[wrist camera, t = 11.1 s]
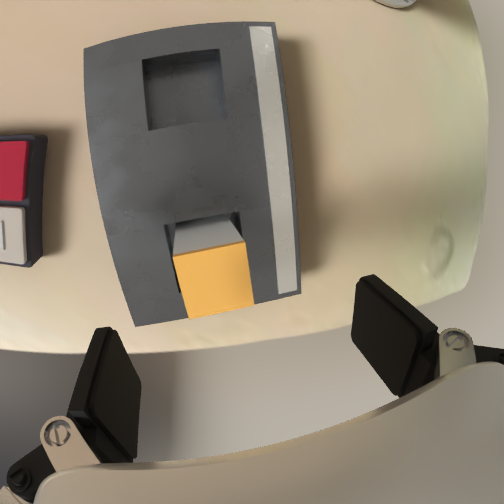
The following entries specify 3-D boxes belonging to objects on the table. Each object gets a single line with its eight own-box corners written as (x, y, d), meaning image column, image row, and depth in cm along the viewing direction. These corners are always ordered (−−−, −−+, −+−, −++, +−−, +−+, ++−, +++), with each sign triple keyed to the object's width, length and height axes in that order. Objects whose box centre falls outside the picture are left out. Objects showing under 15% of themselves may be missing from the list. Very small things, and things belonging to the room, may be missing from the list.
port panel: (262, 37, 19) (275, 21, 15) (287, 276, 27) (301, 294, 23) (96, 61, 16) (83, 48, 13) (140, 305, 24) (135, 327, 21)
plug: (224, 212, 23) (245, 242, 15) (232, 258, 24) (254, 304, 17) (176, 222, 22) (172, 257, 15) (186, 267, 24) (189, 319, 16)
